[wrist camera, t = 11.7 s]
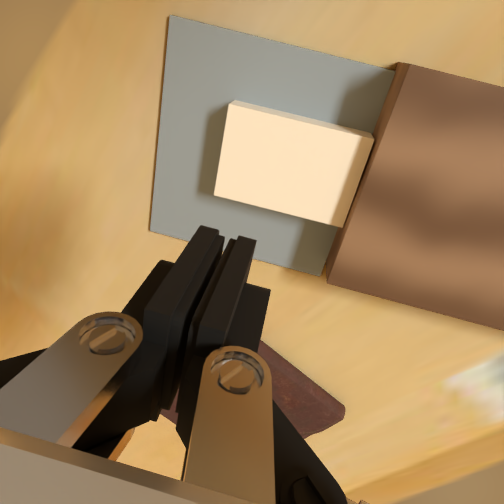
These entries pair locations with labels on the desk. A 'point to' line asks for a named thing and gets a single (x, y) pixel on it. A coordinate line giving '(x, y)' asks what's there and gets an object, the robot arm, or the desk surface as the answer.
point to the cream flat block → (291, 163)
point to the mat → (213, 125)
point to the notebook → (293, 397)
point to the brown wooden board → (430, 200)
